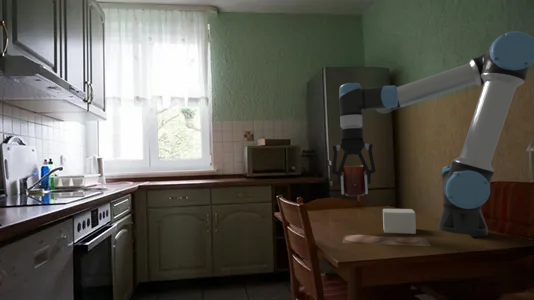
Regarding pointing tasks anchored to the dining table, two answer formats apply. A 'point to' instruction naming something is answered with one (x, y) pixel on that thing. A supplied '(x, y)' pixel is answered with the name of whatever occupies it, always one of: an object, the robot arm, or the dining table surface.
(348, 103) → the robot arm
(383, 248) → the dining table surface
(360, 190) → the mug
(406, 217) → the white rectangular block
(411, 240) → the board
